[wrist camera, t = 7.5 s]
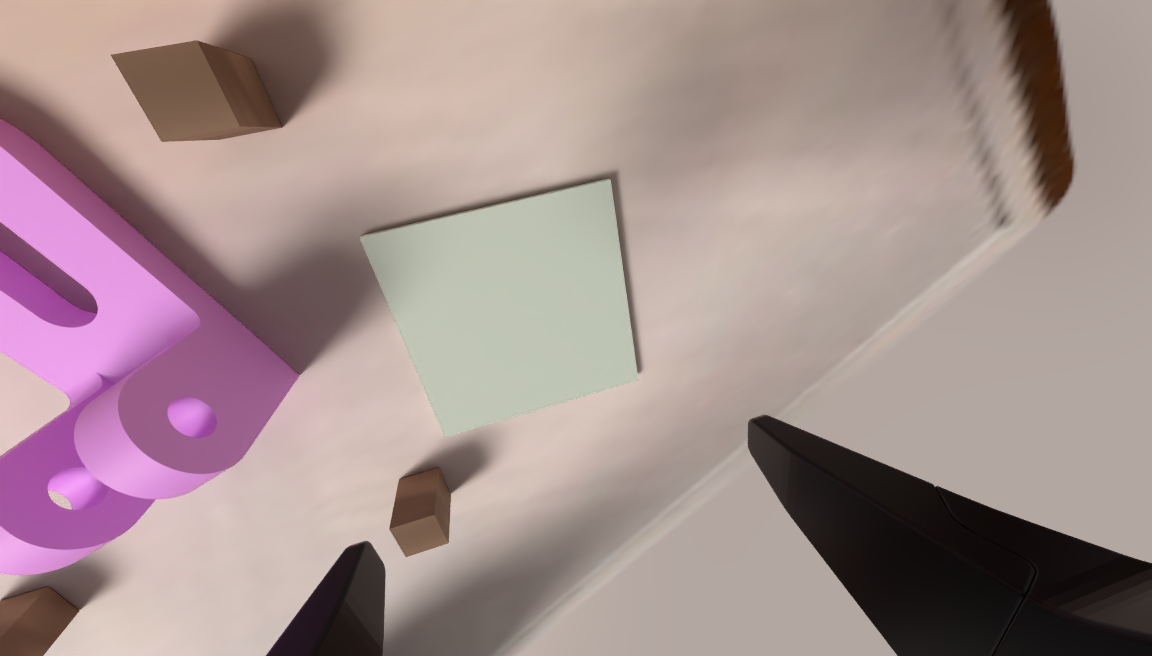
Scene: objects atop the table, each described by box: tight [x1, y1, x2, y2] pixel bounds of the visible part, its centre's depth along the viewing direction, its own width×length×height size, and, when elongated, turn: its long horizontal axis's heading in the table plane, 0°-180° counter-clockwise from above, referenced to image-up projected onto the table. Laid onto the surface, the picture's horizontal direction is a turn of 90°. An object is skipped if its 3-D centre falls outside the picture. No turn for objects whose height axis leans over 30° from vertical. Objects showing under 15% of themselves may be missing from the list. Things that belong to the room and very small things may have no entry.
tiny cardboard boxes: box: [0, 41, 451, 656], centre depth 15 cm, size 20×20×3 cm
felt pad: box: [359, 178, 638, 437], centre depth 19 cm, size 10×10×1 cm
